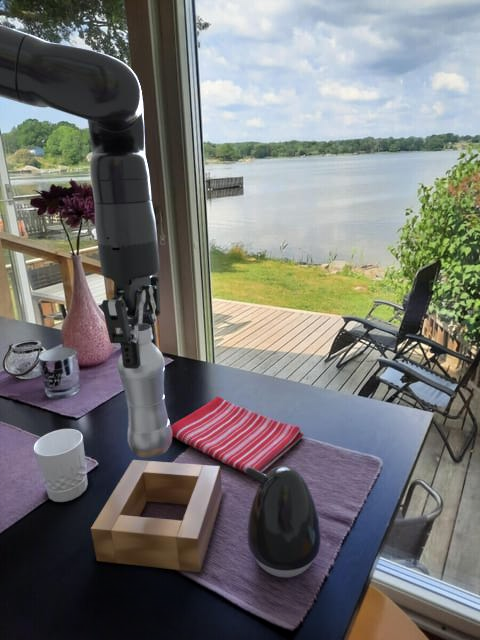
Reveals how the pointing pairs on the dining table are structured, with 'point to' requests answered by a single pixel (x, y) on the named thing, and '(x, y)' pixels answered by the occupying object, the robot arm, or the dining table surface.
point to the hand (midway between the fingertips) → (141, 357)
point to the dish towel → (236, 435)
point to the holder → (152, 533)
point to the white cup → (62, 464)
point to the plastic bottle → (146, 399)
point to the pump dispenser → (283, 522)
